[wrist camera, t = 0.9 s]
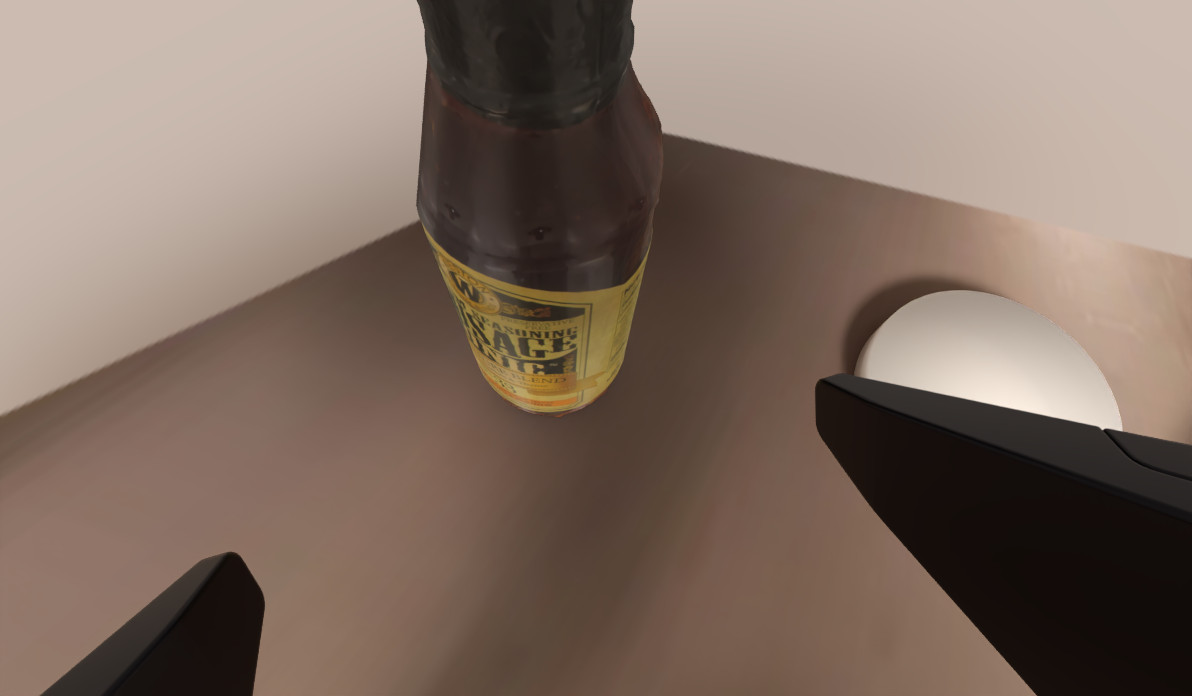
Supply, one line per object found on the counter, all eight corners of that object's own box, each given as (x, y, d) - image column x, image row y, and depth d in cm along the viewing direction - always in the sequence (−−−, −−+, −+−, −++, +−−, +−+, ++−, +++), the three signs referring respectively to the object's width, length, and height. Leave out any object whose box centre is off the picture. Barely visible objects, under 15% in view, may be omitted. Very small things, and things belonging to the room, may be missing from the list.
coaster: (1127, 397, 25) (1159, 385, 23) (1034, 586, 21) (1064, 584, 20) (919, 268, 27) (937, 251, 26) (809, 419, 24) (822, 408, 23)
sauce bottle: (453, 369, 25) (83, -265, 7) (543, 272, 27) (451, -412, 9) (571, 459, 23) (508, -50, 5) (657, 349, 25) (833, -290, 7)
